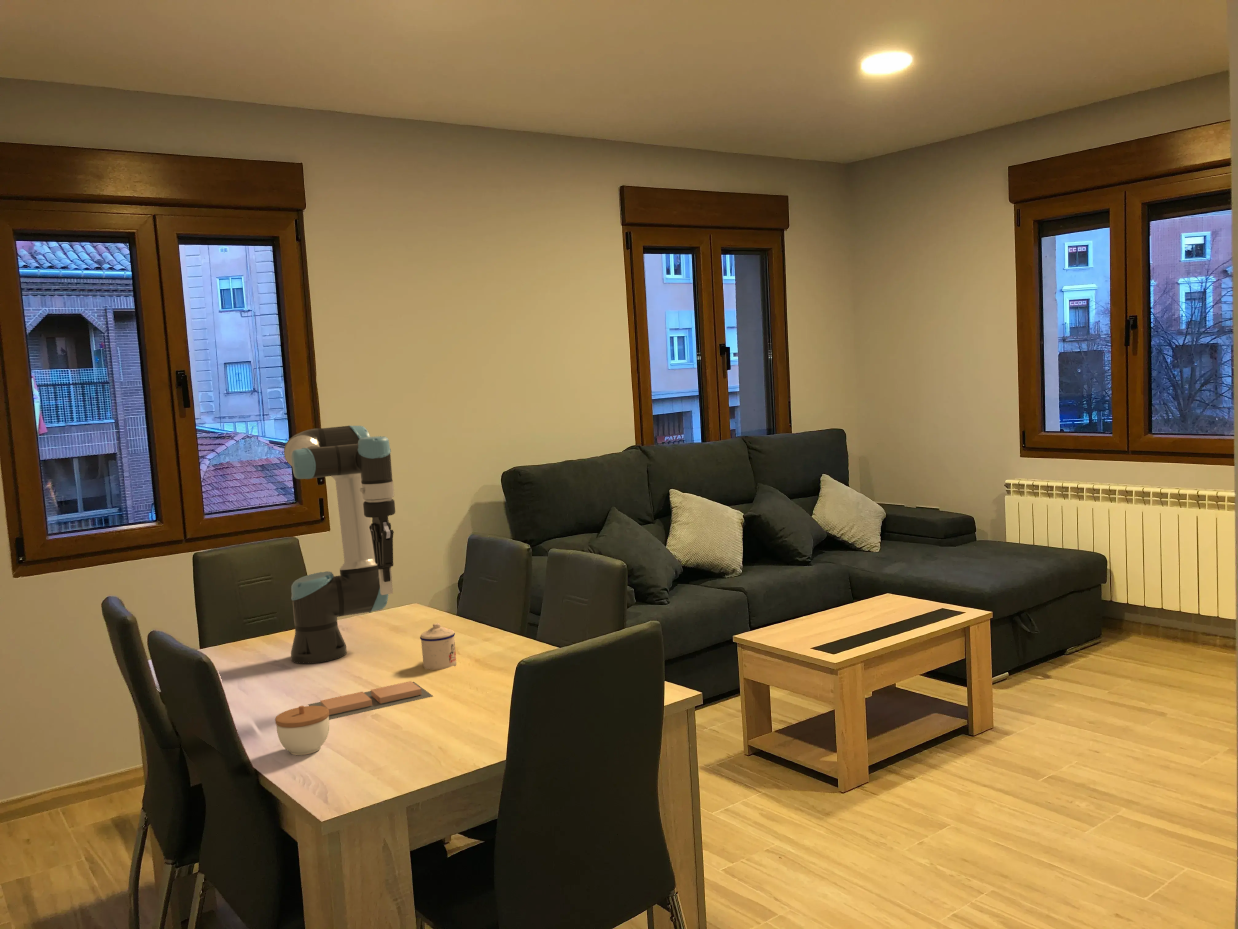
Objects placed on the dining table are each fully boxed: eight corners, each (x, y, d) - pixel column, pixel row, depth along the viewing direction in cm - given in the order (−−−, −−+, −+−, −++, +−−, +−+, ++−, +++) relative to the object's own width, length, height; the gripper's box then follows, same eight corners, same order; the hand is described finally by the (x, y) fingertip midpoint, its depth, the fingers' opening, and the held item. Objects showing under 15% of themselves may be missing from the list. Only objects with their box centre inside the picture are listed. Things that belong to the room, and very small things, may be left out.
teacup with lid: (457, 669, 261) (454, 625, 260) (422, 673, 259) (418, 629, 258) (457, 657, 273) (453, 615, 272) (423, 661, 271) (419, 619, 270)
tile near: (320, 700, 235) (328, 709, 228) (362, 691, 240) (371, 699, 233) (320, 707, 235) (329, 716, 228) (363, 698, 240) (372, 706, 233)
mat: (308, 706, 238) (308, 704, 238) (413, 684, 251) (413, 681, 250) (323, 723, 225) (322, 721, 225) (433, 698, 237) (433, 696, 237)
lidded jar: (285, 743, 214) (281, 700, 213) (336, 738, 215) (332, 696, 214) (272, 762, 203) (268, 717, 202) (326, 757, 204) (322, 712, 203)
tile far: (370, 689, 241) (380, 697, 234) (410, 681, 246) (421, 688, 239) (371, 696, 241) (380, 704, 234) (411, 687, 246) (421, 695, 239)
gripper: (356, 499, 249) (364, 591, 251) (370, 504, 237) (379, 601, 240) (386, 495, 252) (394, 586, 255) (401, 500, 241) (409, 596, 244)
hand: (386, 593), depth 247 cm, fingers closed
